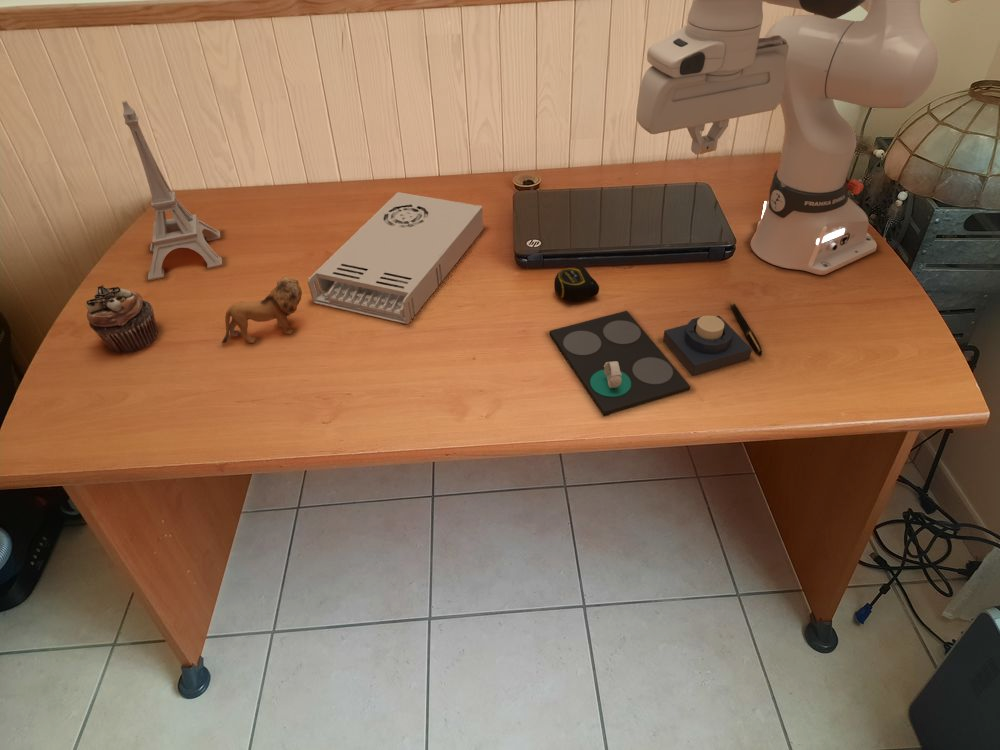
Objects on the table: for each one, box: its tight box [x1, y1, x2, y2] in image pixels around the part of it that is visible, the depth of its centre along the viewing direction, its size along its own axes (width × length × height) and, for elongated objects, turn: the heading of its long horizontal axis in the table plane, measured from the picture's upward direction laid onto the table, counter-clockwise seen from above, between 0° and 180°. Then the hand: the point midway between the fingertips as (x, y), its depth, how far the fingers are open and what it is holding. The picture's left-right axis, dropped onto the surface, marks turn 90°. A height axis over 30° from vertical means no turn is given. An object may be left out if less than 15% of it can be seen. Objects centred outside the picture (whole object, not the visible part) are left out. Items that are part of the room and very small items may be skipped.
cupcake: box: [85, 284, 159, 354], centre depth 114 cm, size 10×10×10 cm
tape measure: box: [553, 264, 600, 302], centre depth 120 cm, size 7×7×4 cm
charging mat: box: [549, 310, 691, 416], centre depth 108 cm, size 14×20×1 cm
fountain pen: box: [729, 299, 763, 356], centre depth 112 cm, size 14×1×2 cm, turn 5°
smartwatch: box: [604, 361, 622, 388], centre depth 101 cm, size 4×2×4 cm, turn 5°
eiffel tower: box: [121, 100, 223, 282], centre depth 126 cm, size 13×13×30 cm
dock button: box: [696, 314, 724, 340], centre depth 106 cm, size 4×4×2 cm
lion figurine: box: [221, 276, 302, 344], centre depth 114 cm, size 15×5×9 cm, turn 117°
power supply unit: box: [307, 191, 485, 325], centre depth 129 cm, size 19×33×5 cm, turn 158°
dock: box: [662, 315, 753, 377], centre depth 108 cm, size 10×9×4 cm
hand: (703, 151), depth 96 cm, fingers closed
